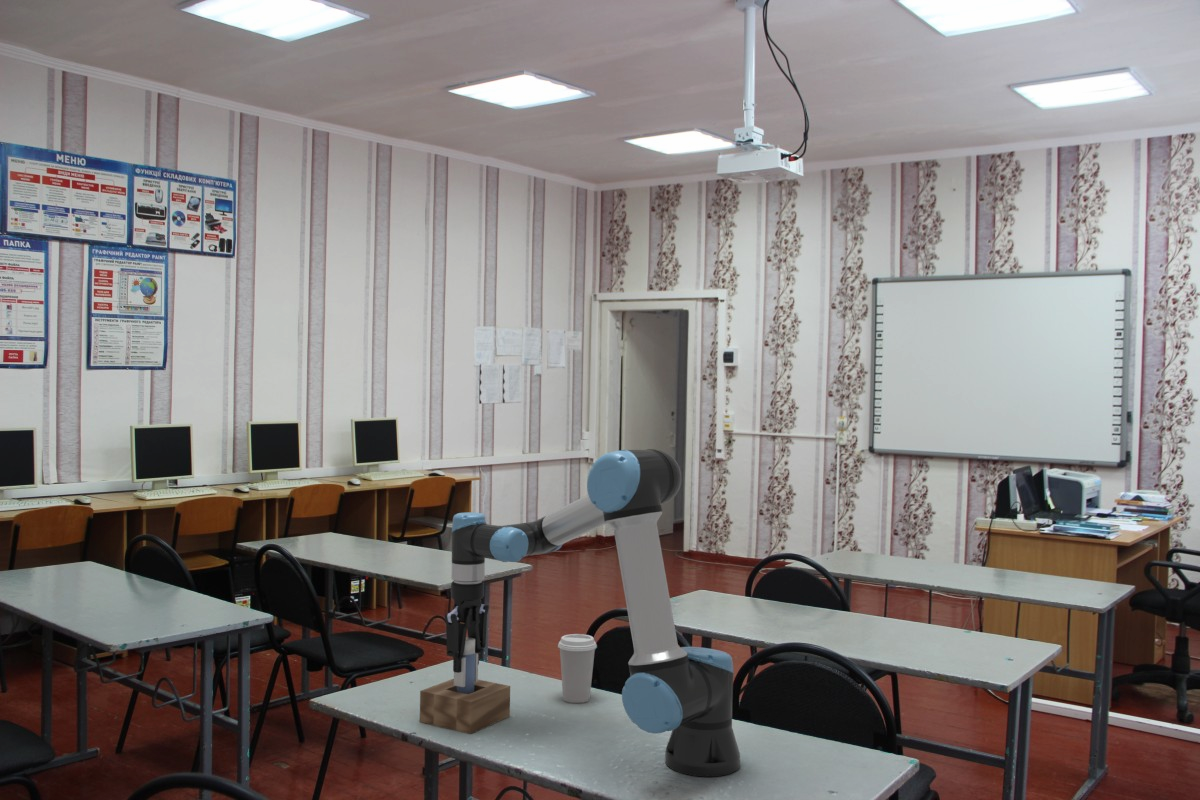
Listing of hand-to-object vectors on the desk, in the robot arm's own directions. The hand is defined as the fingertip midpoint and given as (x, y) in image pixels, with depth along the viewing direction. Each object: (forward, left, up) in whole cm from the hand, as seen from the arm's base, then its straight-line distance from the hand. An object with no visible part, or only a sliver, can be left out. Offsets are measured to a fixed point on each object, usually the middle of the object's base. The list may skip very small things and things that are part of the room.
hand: (465, 683), depth 228 cm
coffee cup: (-13, -27, -8) cm, 31 cm away
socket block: (0, 0, -8) cm, 8 cm away
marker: (0, 0, -8) cm, 8 cm away
